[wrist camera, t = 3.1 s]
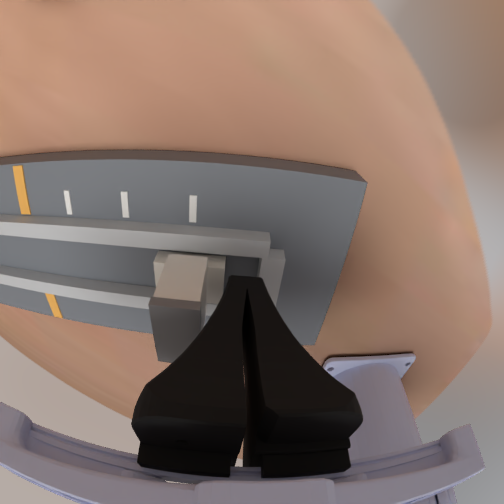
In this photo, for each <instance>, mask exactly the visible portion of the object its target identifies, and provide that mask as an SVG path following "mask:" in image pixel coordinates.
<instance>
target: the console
mask: <svg viewBox="0 0 504 504" xmlns="http://www.w3.org/2000/svg"><path fill="white" fill-rule="evenodd" d="M366 187H367V182H366V181H365V180H364V179H363V178H362V177H361V176H360V175H359V174H358V173H357V172H356V171H353V170H348V169H342V168H336V167H330V166H324V165H318V164H311V163H304V162H297V161H289V160H282V159H273V158H264V157H255V156H245V155H234V154H222V153H208V152H191V151H168V150H89V151H67V152H51V153H38V154H27V155H18V156H9V157H1V158H0V303H2V304H6V305H9V306H13V307H17V308H21V309H25V310H29V311H33V312H37V313H41V314H45V315H50V316H54V317H59V318H64V319H68V320H73V321H78V322H83V323H89V324H94V325H100V326H105V327H111V328H117V329H124V330H130V331H137V332H144V333H151V334H153V330H152V325H151V319H150V313H149V306H148V304H149V301H150V298H151V297H153V295H154V293H155V290H156V284H155V274H154V264H153V262H154V260H155V257H156V255H157V253H158V251H170V252H181V253H193V254H205V255H216V256H226V261H225V274H224V289H223V293H224V291H225V288H226V285H227V282H228V277H229V276H231V275H238V276H250V277H261V278H262V279H263V280H264V283H265V286H266V288H267V290H268V293H269V295H270V297H271V299H272V301H273V303H274V305H275V307H276V308H277V310H278V312H279V314H280V315H281V317H282V319H283V320H284V322H285V323H286V325H287V326H288V328H289V329H290V331H291V332H292V334H293V335H294V336H295V338H296V339H297V340H298V342H299V343H300V344H301V345H314V344H315V342H316V339H317V337H318V334H319V332H320V329H321V326H322V324H323V321H324V319H325V316H326V313H327V310H328V308H329V305H330V302H331V299H332V297H333V294H334V291H335V288H336V285H337V282H338V280H339V277H340V274H341V271H342V268H343V265H344V262H345V258H346V255H347V252H348V249H349V246H350V243H351V239H352V236H353V233H354V230H355V226H356V223H357V219H358V216H359V212H360V209H361V205H362V202H363V198H364V194H365V190H366ZM217 305H218V304H212V303H207V311H206V318H205V325H206V323H207V322H208V320H209V318H210V317H211V315H212V314H213V312H214V310H215V309H216V307H217Z"/></svg>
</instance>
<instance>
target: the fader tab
mask: <svg viewBox="0 0 504 504" xmlns="http://www.w3.org/2000/svg"><path fill="white" fill-rule="evenodd" d="M225 261H226V256H216V255H205V254H193V253H181V252H170V251H158V253H157V255H156V257H155V260H154V262H153V264H154V274H155V284H156V290H155V293H154V295H153V297H151V298H150V301H149V304H148V306H149V313H150V319H151V325H152V330H153V336H154V341H155V347H156V352H157V357H158V361H162V362H169V363H172V362H174V361H175V360H176V359H177V358H178V357H179V356H180V355H181V354H182V353H183V352H184V351H185V350H186V349H187V347H188V346H189V345H190V344H191V343H192V342H193V340H194V339H195V338H196V337H197V335H198V334H199V333H200V332H201V330H202V329H203V328H204V326H205V318H206V311H207V303H212V304H218V303H219V301H220V299H221V297H222V295H223V289H224V274H225Z"/></svg>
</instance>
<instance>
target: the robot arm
mask: <svg viewBox="0 0 504 504" xmlns="http://www.w3.org/2000/svg"><path fill="white" fill-rule="evenodd" d="M415 359H416V356H415V354H413V353H410V354H397V355H383V356H364V357H333V358H329V359H327V360H326V361H325V363H324V365H323V367H321V366H320V365H319V364H318V363H317V362H316V361H315V360H314V359H313V358H312V357H311V356H310V354H309V353H308V352H307V351H306V350H305V349H304V348H303V346H302V345H301V344H300V343H299V342H298V340H297V339H296V338H295V336H294V335H293V334H292V332H291V331H290V329H289V328H288V326H287V325H286V323H285V322H284V320H283V319H282V317H281V315H280V314H279V312H278V310H277V308H276V307H275V305H274V303H273V301H272V299H271V297H270V295H269V293H268V290H267V288H266V286H265V283H264V280H263V279H262V278H261V277H250V276H238V275H231V276H229V277H228V282H227V285H226V288H225V291H224V293H223V295H222V297H221V299H220V301H219V303H218V305H217V307H216V309H215V310H214V312H213V314H212V315H211V317H210V318H209V320H208V322H207V323H206V325H205V326H204V328H203V329H202V330H201V332H200V333H199V334H198V335H197V337H196V338H195V339H194V340H193V342H192V343H191V344H190V345H189V346H188V347H187V349H186V350H185V351H184V352H183V353H182V354H181V355H180V356H179V357H178V358H177V359H176V360H175V361H174V362H172V363H171V364H170V365H169V366H168V367H167V368H166V369H165V370H164V371H162V372H161V373H160V374H159V375H157V376H156V377H155V378H154V379H152V380H151V381H150V382H148V383H147V384H146V385H145V387H144V389H143V391H142V392H141V394H140V396H139V398H138V401H137V403H136V406H135V409H134V413H133V418H132V423H131V425H132V428H133V430H134V432H135V433H136V435H137V437H138V438H139V440H140V447H139V453H138V455H136V454H131V453H126V452H122V451H117V450H114V449H110V448H106V447H102V446H99V445H95V444H91V443H88V442H84V441H81V440H79V439H75V438H72V437H69V436H66V435H64V434H61V433H58V432H55V431H53V430H50V429H47V428H45V427H42V426H40V425H37V424H35V423H32V421H31V420H30V418H29V417H28V416H26V415H25V414H24V413H22V412H21V411H19V410H16V409H15V408H13V407H10V406H8V405H6V404H4V403H2V402H0V465H1V466H3V467H4V468H6V469H8V470H9V471H11V472H12V473H14V474H16V475H18V476H19V477H21V478H23V479H25V480H27V481H29V482H32V483H33V484H35V485H38V486H39V487H42V488H44V489H46V490H48V491H50V492H53V493H55V494H57V495H60V496H62V497H65V498H67V499H70V500H72V501H75V502H77V503H80V504H457V500H456V496H455V492H454V488H453V487H454V486H456V485H458V484H460V483H462V482H463V481H465V480H467V479H469V478H470V477H472V476H474V475H476V474H478V473H479V472H481V471H483V470H484V469H485V465H484V462H483V458H482V456H481V452H480V450H479V447H478V444H477V441H476V438H475V435H474V433H473V430H472V427H471V425H470V424H467V425H464V426H462V427H459V428H456V429H453V430H451V431H449V432H448V433H446V434H445V435H443V436H442V437H441V438H440V439H439V440H436V441H433V442H430V443H427V444H422V441H421V438H420V435H419V432H418V428H417V425H416V422H415V419H414V416H413V413H412V410H411V407H410V404H409V401H408V398H407V395H406V393H405V390H404V387H403V384H402V382H401V378H402V377H403V375H404V374H405V373H406V371H407V370H408V369H409V367H410V366H411V365H412V363H413V362H414V361H415ZM243 366H244V370H243ZM244 377H245V385H244ZM243 438H244V442H243ZM242 442H243V467H235V463H236V460H237V456H238V454H239V452H240V449H241V445H242ZM165 480H166V481H173V482H180V483H188V484H180V483H168V482H166V481H165Z"/></svg>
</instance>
